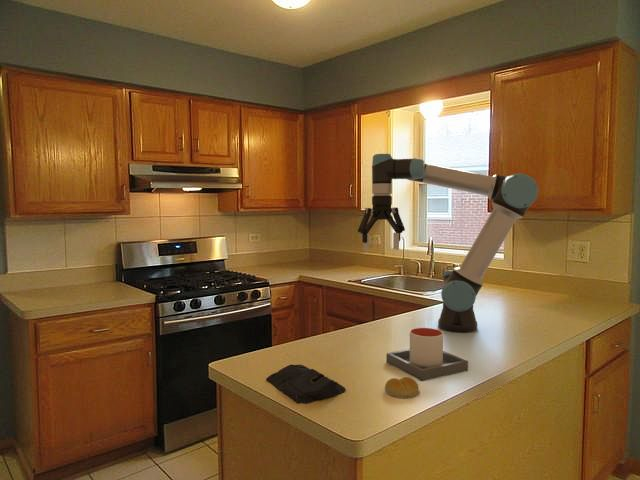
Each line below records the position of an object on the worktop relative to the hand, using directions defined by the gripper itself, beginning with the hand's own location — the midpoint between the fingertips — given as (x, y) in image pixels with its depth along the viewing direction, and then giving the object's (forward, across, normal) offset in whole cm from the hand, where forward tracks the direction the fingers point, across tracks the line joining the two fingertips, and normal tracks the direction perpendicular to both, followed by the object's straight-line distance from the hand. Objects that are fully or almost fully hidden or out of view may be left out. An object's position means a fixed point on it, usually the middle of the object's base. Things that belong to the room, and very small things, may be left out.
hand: (381, 250), depth 183 cm
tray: (+32, +10, +39) cm, 51 cm away
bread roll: (+32, +28, +51) cm, 67 cm away
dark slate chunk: (+32, +50, +35) cm, 69 cm away
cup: (+31, +10, +39) cm, 51 cm away
